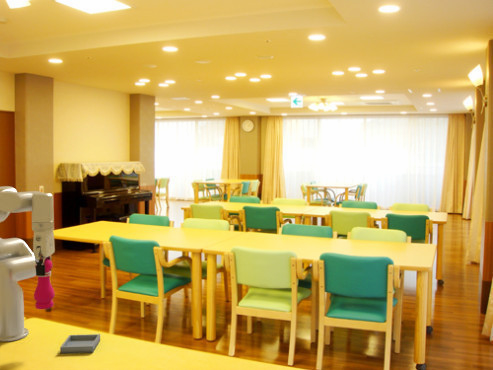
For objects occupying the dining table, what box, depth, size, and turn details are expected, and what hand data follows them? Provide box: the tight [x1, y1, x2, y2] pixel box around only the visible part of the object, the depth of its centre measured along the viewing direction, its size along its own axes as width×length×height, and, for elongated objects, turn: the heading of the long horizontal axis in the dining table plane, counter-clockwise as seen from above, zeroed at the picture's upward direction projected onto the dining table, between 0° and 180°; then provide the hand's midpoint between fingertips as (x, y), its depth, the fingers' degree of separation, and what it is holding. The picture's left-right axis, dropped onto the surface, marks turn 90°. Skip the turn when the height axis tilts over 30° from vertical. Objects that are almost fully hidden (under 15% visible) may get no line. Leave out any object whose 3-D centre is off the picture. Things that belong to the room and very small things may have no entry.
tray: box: [60, 333, 101, 355], centre depth 181 cm, size 12×12×2 cm
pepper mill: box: [33, 255, 55, 310], centre depth 179 cm, size 7×7×20 cm
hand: (43, 272), depth 179 cm, fingers closed on pepper mill, 6 cm apart
